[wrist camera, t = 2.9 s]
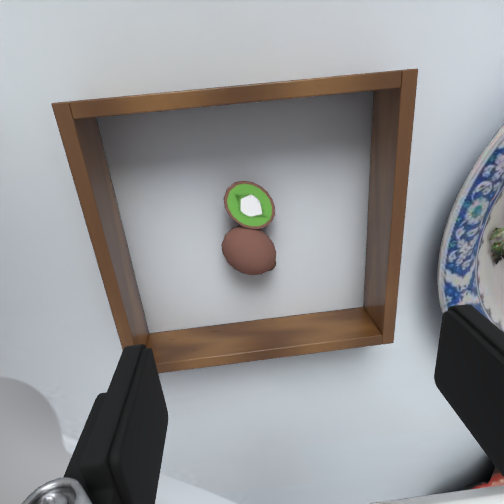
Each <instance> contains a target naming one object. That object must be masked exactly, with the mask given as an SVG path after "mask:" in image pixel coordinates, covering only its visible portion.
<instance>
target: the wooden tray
mask: <svg viewBox="0 0 504 504" xmlns="http://www.w3.org/2000/svg"><path fill="white" fill-rule="evenodd" d="M417 75H418V69H407V70H397V71H386V72H376V73H365V74H355V75H344V76H333V77H323V78H312V79H302V80H291V81H281V82H270V83H259V84H249V85H238V86H228V87H217V88H207V89H196V90H185V91H175V92H164V93H154V94H143V95H133V96H122V97H111V98H101V99H90V100H80V101H70V102H59V103H52V107H53V111H54V114H55V118H56V121H57V125H58V128H59V132H60V135H61V139H62V142H63V145H64V149H65V152H66V156H67V159H68V163H69V166H70V170H71V173H72V176H73V180H74V183H75V187H76V190H77V194H78V197H79V201H80V204H81V207H82V211H83V214H84V218H85V221H86V225H87V228H88V232H89V235H90V239H91V242H92V245H93V249H94V252H95V256H96V259H97V263H98V266H99V270H100V273H101V276H102V280H103V283H104V287H105V290H106V294H107V297H108V301H109V304H110V307H111V311H112V314H113V318H114V321H115V325H116V328H117V332H118V335H119V339H120V342H121V345H122V349H124V348H125V347H126V346H131V345H140V344H144V345H145V346H146V348H151V349H152V351H153V355H154V359H155V363H156V367H157V371H158V373H164V372H171V371H179V370H187V369H195V368H202V367H210V366H218V365H226V364H233V363H241V362H249V361H257V360H264V359H272V358H280V357H288V356H295V355H303V354H311V353H319V352H326V351H334V350H342V349H350V348H357V347H365V346H373V345H381V344H389V343H393V341H394V330H395V319H396V308H397V297H398V286H399V275H400V264H401V253H402V241H403V230H404V219H405V208H406V197H407V186H408V175H409V164H410V153H411V142H412V130H413V119H414V108H415V97H416V86H417ZM364 91H374V97H373V119H372V140H371V162H370V183H369V205H368V226H367V248H366V269H365V291H364V307H359V308H351V309H343V310H335V311H327V312H319V313H311V314H303V315H295V316H287V317H279V318H270V319H262V320H254V321H246V322H238V323H230V324H222V325H214V326H206V327H198V328H190V329H182V330H174V331H166V332H158V333H150V334H149V331H148V327H147V323H146V319H145V315H144V311H143V307H142V303H141V299H140V295H139V291H138V287H137V283H136V279H135V275H134V270H133V266H132V262H131V258H130V254H129V250H128V246H127V242H126V238H125V234H124V230H123V226H122V222H121V218H120V214H119V210H118V206H117V202H116V198H115V194H114V190H113V186H112V182H111V177H110V173H109V169H108V165H107V161H106V157H105V153H104V149H103V145H102V141H101V137H100V133H99V129H98V125H97V121H96V117H106V116H116V115H126V114H137V113H147V112H157V111H168V110H178V109H188V108H199V107H209V106H219V105H230V104H240V103H250V102H261V101H271V100H281V99H292V98H302V97H312V96H323V95H333V94H343V93H354V92H364Z"/></svg>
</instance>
